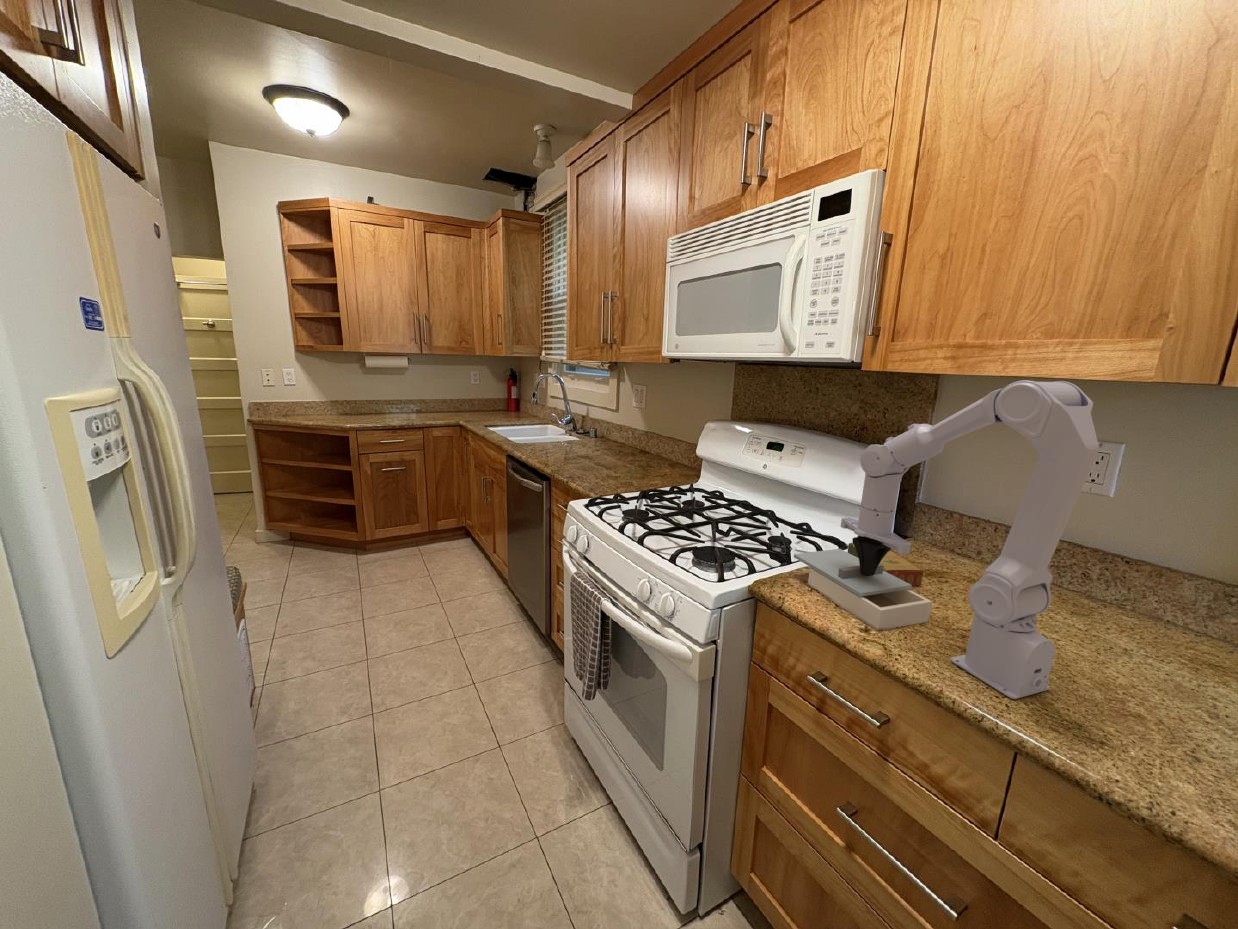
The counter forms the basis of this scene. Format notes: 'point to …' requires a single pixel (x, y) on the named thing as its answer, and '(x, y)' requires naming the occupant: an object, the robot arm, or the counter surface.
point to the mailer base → (875, 604)
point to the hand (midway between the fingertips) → (867, 574)
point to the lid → (851, 572)
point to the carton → (897, 567)
